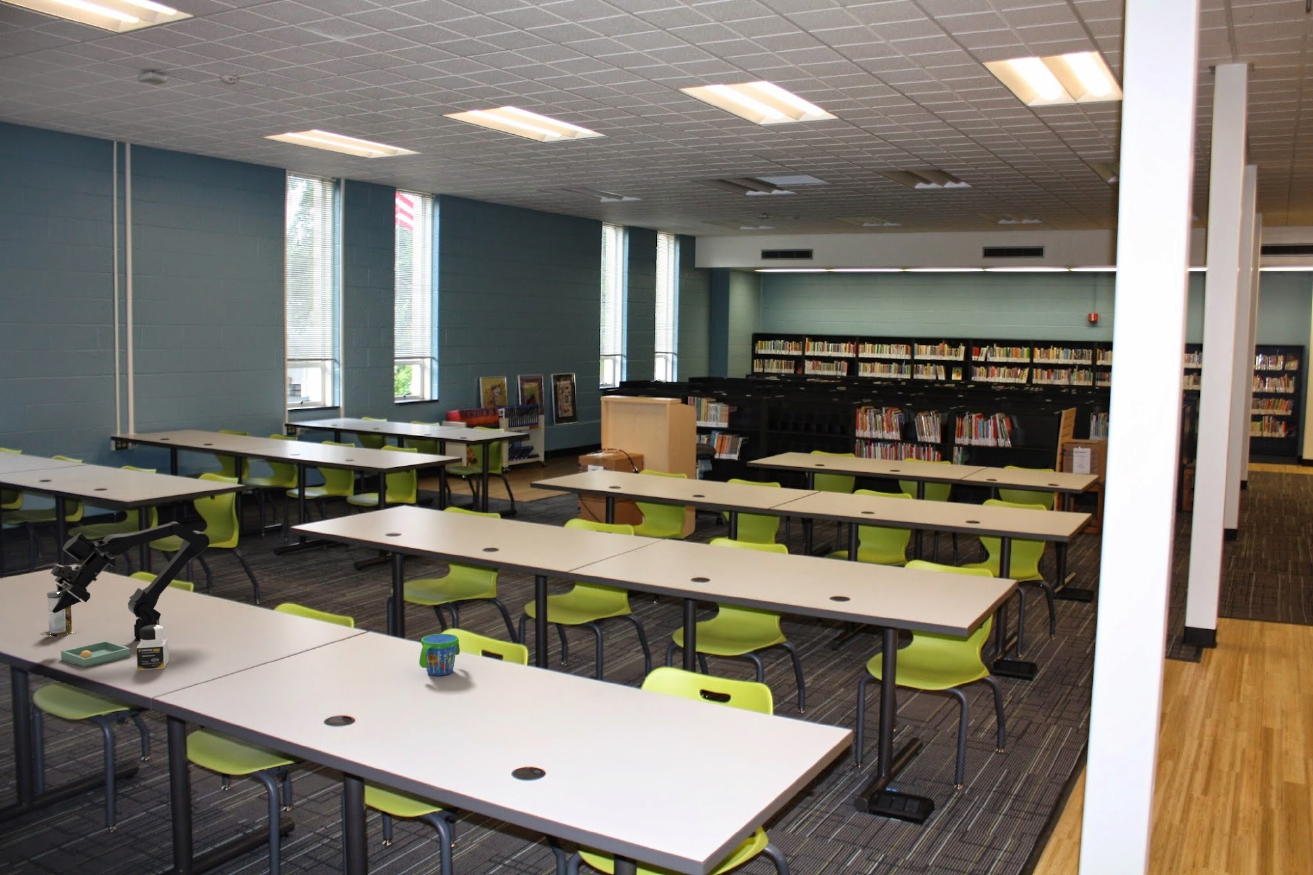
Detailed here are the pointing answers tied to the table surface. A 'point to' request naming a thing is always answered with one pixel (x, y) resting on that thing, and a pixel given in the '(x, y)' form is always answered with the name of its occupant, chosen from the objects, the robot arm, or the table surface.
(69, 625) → the condiment
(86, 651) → the ball
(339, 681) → the table surface
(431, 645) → the snack cup
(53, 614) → the cylinder
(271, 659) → the table surface
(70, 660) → the tray
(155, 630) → the medicine bottle
